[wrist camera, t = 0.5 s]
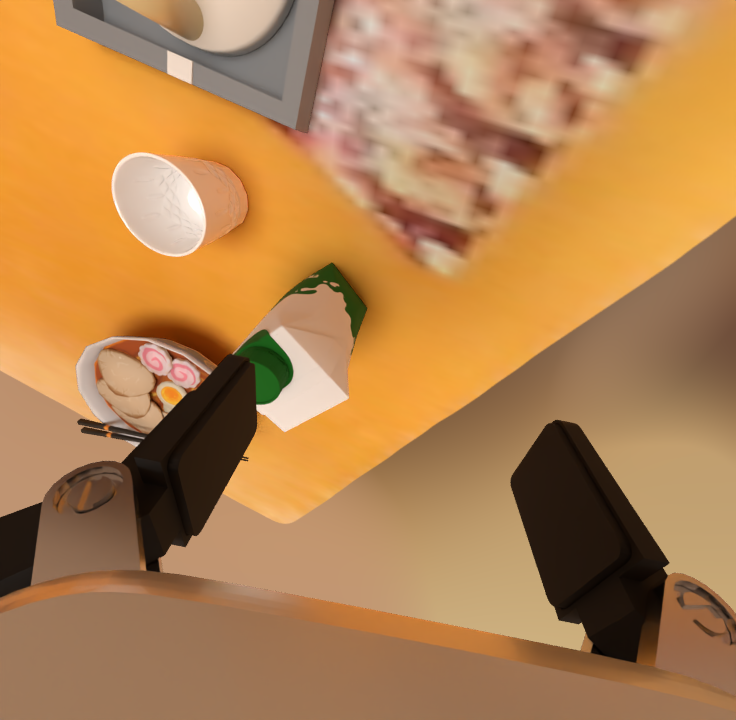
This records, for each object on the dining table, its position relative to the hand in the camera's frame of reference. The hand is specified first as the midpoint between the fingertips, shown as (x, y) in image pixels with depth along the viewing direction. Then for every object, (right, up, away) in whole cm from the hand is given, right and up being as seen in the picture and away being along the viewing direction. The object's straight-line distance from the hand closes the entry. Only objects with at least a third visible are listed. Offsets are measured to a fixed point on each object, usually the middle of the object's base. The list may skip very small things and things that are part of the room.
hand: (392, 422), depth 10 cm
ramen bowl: (-29, -1, +39) cm, 49 cm away
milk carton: (-6, +10, +30) cm, 32 cm away
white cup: (-17, +20, +25) cm, 36 cm away
